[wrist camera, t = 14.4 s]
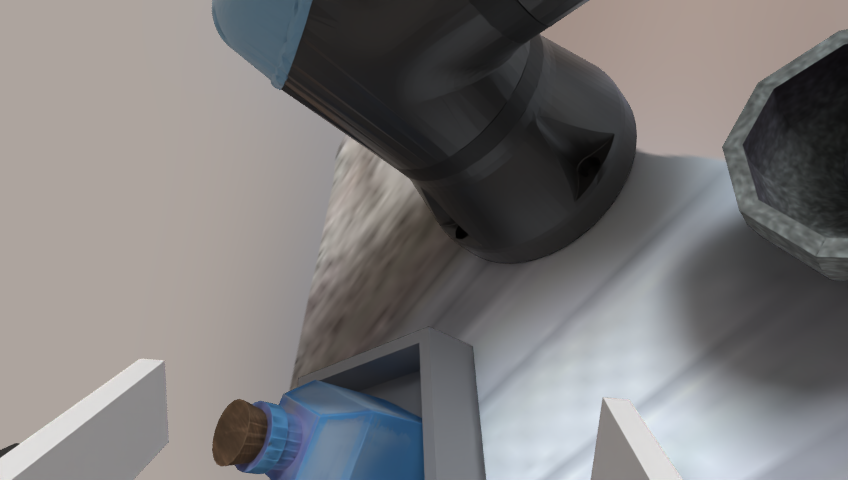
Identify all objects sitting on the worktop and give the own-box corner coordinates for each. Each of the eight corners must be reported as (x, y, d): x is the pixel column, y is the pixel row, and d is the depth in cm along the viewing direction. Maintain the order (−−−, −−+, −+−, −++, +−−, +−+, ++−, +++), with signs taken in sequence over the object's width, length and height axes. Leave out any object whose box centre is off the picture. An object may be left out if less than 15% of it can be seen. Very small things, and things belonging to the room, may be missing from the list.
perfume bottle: (351, 488, 34) (182, 469, 27) (383, 399, 36) (232, 356, 28) (410, 534, 30) (228, 527, 22) (445, 429, 31) (285, 389, 24)
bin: (344, 390, 40) (298, 378, 37) (472, 346, 34) (428, 326, 31) (335, 582, 33) (278, 584, 30) (495, 572, 27) (441, 575, 24)
